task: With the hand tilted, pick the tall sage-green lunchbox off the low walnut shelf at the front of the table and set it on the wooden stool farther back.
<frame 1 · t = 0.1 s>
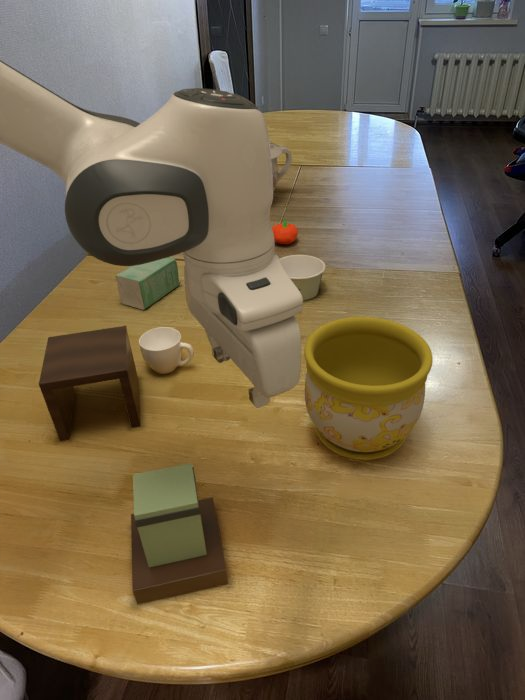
hand: (239, 379, 59), 23 cm above the table, tool pointing down, fingers open, 8 cm apart
food container: (298, 291, 122), on the table
wooden stool: (101, 408, 90), on the table
lunchbox: (176, 540, 65), point 3 cm above the table, touching low shelf
low shelf: (179, 554, 67), on the table
chamber pot: (242, 203, 171), on the table
box: (152, 294, 123), on the table
pumpkin: (283, 243, 144), on the table
cup: (171, 368, 99), on the table
flowerpot: (359, 432, 83), on the table
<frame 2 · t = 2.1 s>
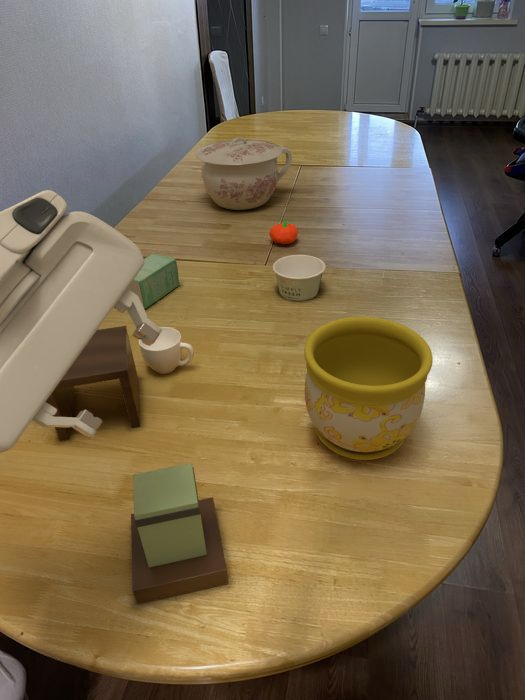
hand: (127, 381, 44), 32 cm above the table, tool tilted 45°, fingers open, 8 cm apart
nothing on the table moved.
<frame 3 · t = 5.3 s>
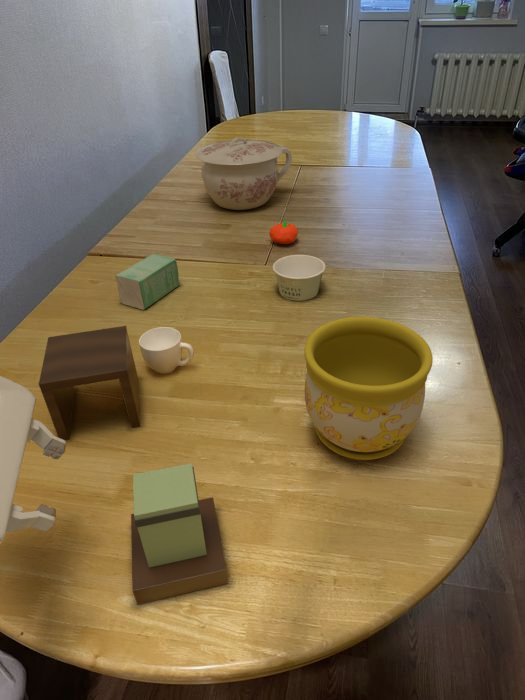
hand: (58, 483, 54), 18 cm above the table, tool tilted 45°, fingers open, 8 cm apart
nothing on the table moved.
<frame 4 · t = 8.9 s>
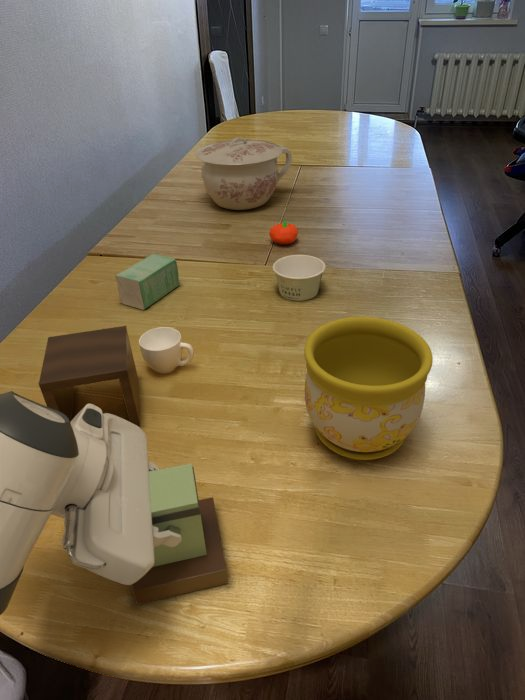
hand: (175, 511, 62), 8 cm above the table, tool tilted 45°, fingers closed on lunchbox, 6 cm apart
lunchbox: (176, 540, 65), point 3 cm above the table, touching gripper, low shelf
everything else where it was.
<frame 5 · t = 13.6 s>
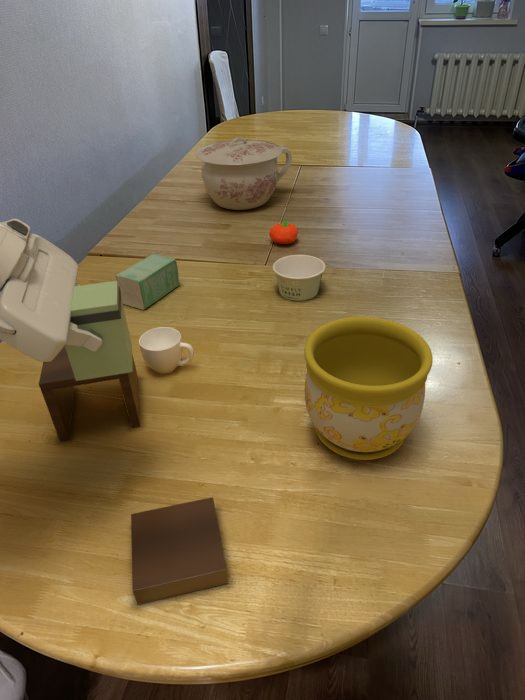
hand: (100, 327, 64), 25 cm above the table, tool tilted 45°, fingers closed on lunchbox, 6 cm apart
lunchbox: (105, 362, 67), point 20 cm above the table, touching gripper
everything else where it was.
when the fingers open (17 cm above the table, at t = 18.4 s): lunchbox stays where it is, resting on wooden stool.
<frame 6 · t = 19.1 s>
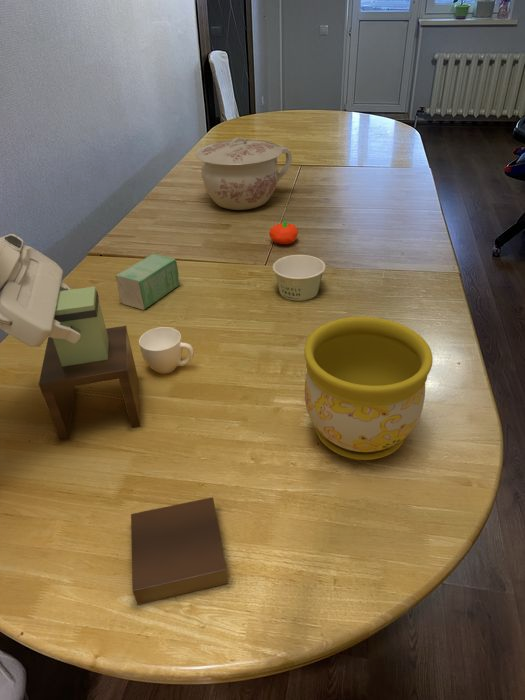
hand: (80, 321, 80), 18 cm above the table, tool tilted 45°, fingers open, 8 cm apart
lunchbox: (86, 352, 83), point 12 cm above the table, touching wooden stool
everything else where it was.
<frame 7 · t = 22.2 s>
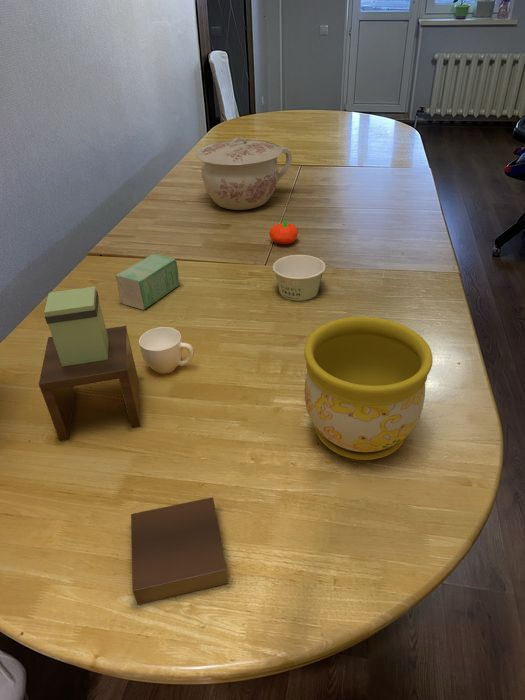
nothing on the table moved.
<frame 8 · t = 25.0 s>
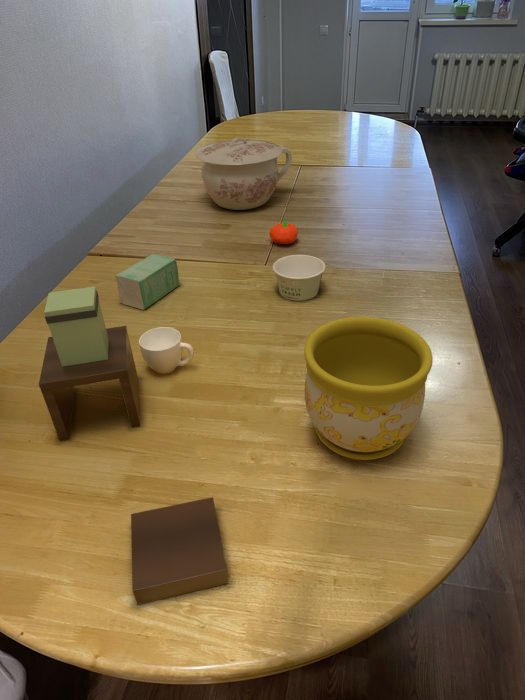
nothing on the table moved.
at the end: lunchbox inside the target area on the wooden stool (0.1 cm from its centre), point 12.0 cm above the wooden stool's base; lunchbox tilted 0°; the gripper is holding nothing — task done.
